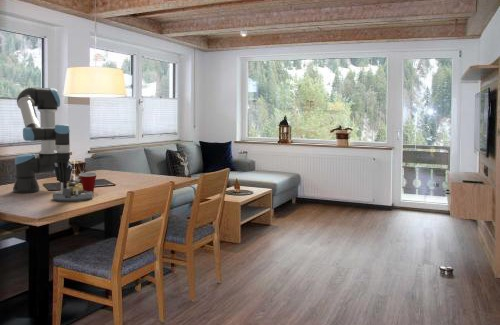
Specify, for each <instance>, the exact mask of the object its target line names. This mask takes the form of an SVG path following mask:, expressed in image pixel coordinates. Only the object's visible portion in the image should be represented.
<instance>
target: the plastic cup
mask: <svg viewBox="0 0 500 325" xmlns="http://www.w3.org/2000/svg"><path fill="white" fill-rule="evenodd" d="M78 175H79V177H80V181H81V182H80V183H82V185H83V190H88V191H92V192H93V193H94V191H95V185H96V178H97V176H98V173H97V172H91V171H89V172H88V171H87V172H86V171H85V172H81V173H79V174H78Z"/></svg>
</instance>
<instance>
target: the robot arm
mask: <svg viewBox="0 0 500 325" xmlns="http://www.w3.org/2000/svg"><path fill="white" fill-rule="evenodd" d="M16 105H17V107H18V108H19V109H20V111H21V112H20V113H21V116H22V120H23V121H22V122H23V123H24V127H23V128H22V136H23V137H22V138H23V140H24V141H27V142H36V141H37V142H38V141H39V142H40V149H41V150H40V151H39V152H38V155H37V154H36V153H24V154H23V153H22V154H18V155H16V156H15V158H14V168H15V181H14V183H13V187H12V192H13V193H15V194H30V193H36V192H39V191H40V190H41V189H40V185H39V182H38V180H37V175H39V174H40V175H41V174H42V175H43V174H44V175H45V174H55V177H56V181H57V182H59V188H60V191H61V194H64V188H67V183H69V182H71V175H72V170H73V168H74V165H73V164H71V163H70V159H71V153H70V151H71V148H70V147H71V144H70V142H71V141H70V131H71V130H70V126H69V124H56V112H57V111H58V108H60V106H61V98H60V94H59V91H58V90H57V89H56V88H52V87H28V88H27V87H26V88H24V89H23V90H21V92H19V94H18V95H17V97H16ZM35 107H37V111H38V112H40V114H39V117H40V122H39V119H38V115H37V112H36V109H35Z"/></svg>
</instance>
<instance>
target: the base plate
mask: <svg viewBox="0 0 500 325" xmlns="http://www.w3.org/2000/svg"><path fill="white" fill-rule="evenodd" d="M93 198H94V191H93V192H92V191H88V190H83V193H81V194H78V190H75V194H73V195H71V196H64V194H61V190H60V191H57V192H54V193H52V200H53V201H54V202H58V203H75V202H76V203H77V202H85V201H90V200H92V199H93Z"/></svg>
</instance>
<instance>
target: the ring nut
mask: <svg viewBox="0 0 500 325" xmlns="http://www.w3.org/2000/svg"><path fill="white" fill-rule="evenodd" d="M75 190H78V194H81V193H83V185H82V182H79V183H77V181H68V182H67V188H64V196H71V195H73V194H75Z"/></svg>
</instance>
